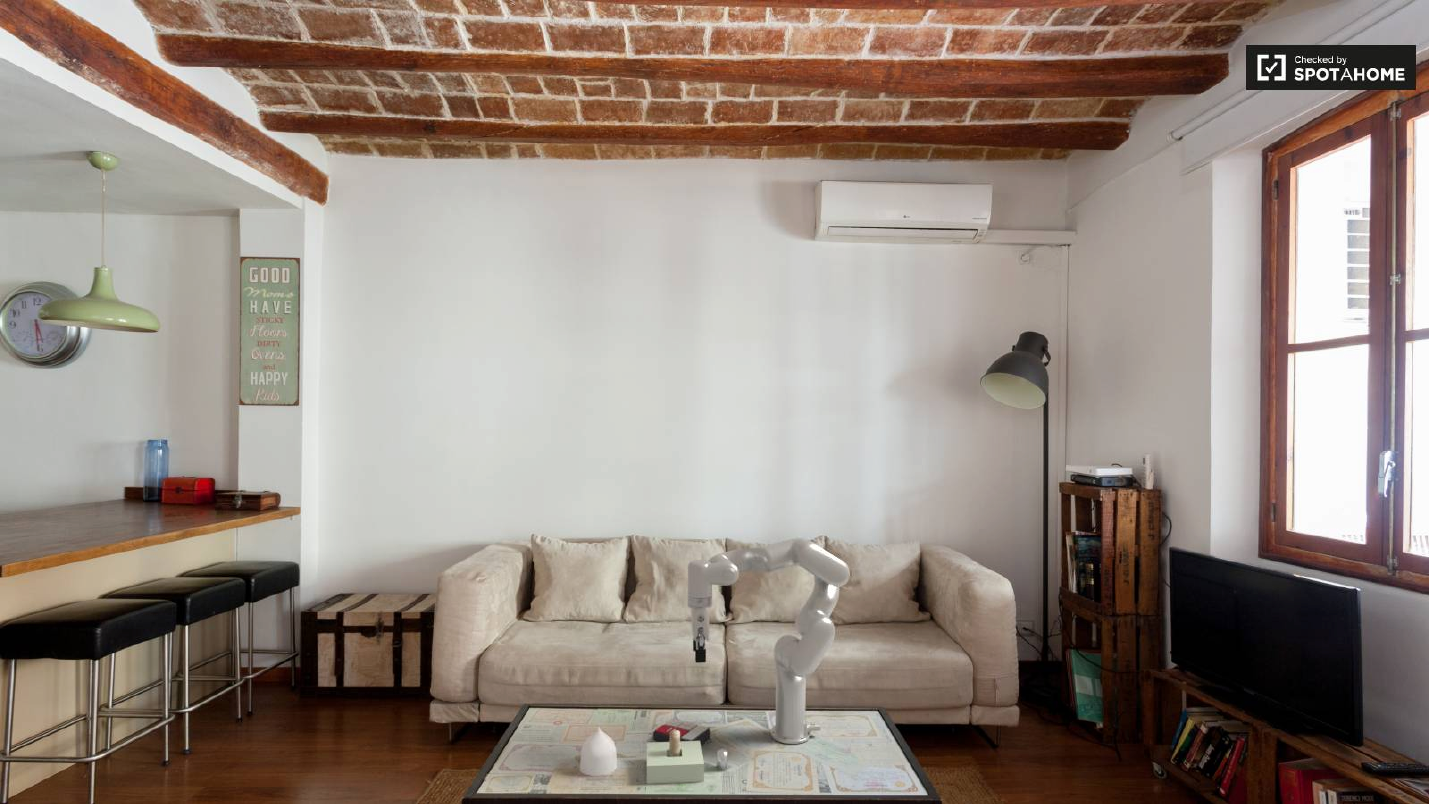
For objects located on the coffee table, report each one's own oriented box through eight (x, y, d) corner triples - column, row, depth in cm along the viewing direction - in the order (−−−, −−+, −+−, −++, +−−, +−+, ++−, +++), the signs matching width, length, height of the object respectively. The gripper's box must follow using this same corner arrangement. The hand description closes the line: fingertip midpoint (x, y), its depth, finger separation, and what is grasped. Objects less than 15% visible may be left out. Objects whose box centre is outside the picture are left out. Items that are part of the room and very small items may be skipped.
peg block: (699, 757, 220) (700, 740, 220) (703, 781, 206) (703, 763, 206) (646, 759, 218) (646, 742, 218) (646, 784, 204) (646, 766, 204)
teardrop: (576, 761, 217) (576, 720, 217) (612, 755, 221) (613, 715, 221) (583, 779, 207) (583, 737, 207) (621, 772, 211) (621, 731, 211)
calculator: (671, 717, 240) (710, 725, 232) (672, 730, 240) (711, 739, 232) (651, 729, 231) (691, 739, 223) (652, 743, 231) (692, 753, 223)
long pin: (679, 767, 214) (679, 729, 214) (679, 772, 211) (680, 734, 211) (669, 767, 214) (669, 730, 214) (669, 772, 211) (669, 734, 211)
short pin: (726, 765, 215) (726, 748, 215) (727, 770, 212) (728, 753, 212) (716, 766, 215) (716, 749, 215) (717, 771, 212) (717, 754, 212)
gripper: (714, 608, 217) (714, 666, 218) (709, 593, 235) (708, 646, 235) (689, 609, 217) (688, 667, 217) (686, 594, 234) (685, 647, 234)
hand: (699, 656), depth 226 cm, fingers open, 9 cm apart
